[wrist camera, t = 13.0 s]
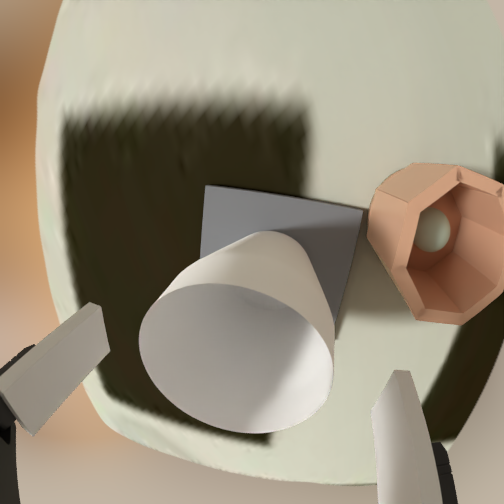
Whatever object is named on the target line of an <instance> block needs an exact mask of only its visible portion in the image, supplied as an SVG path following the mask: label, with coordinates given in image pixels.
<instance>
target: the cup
mask: <svg viewBox="0 0 504 504" xmlns="http://www.w3.org/2000/svg"><path fill="white" fill-rule="evenodd" d="M334 343H335V328H334V322H333V318H332V314H331V311H330V308H329V305H328V303H327V300H326V298H325V295H324V293H323V290H322V288H321V285H320V283H319V281H318V278H317V276H316V273H315V271H314V269H313V266H312V264H311V262H310V260H309V257H308V255H307V253H306V252H305V250H304V249H303V247H302V246H301V245H300V244H299V243H298V242H297V241H296V240H294V239H293V238H291V237H289V236H287V235H285V234H283V233H279V232H275V231H261V232H256V233H253V234H250V235H248V236H246V237H244V238H242V239H240V240H238V241H236V242H234V243H232V244H230V245H228V246H226V247H224V248H222V249H220V250H218V251H216V252H214V253H212V254H210V255H208V256H206V257H204V258H202V259H200V260H198V261H196V262H195V263H193V264H192V265H190V266H189V267H187V268H186V269H185V270H183V271H182V272H181V273H180V274H179V275H178V276H177V277H176V278H175V279H174V281H173V282H172V283H171V284H170V286H169V287H168V288H167V289H166V290H165V291H164V293H163V294H162V295H161V296H160V297H159V298H158V300H157V301H156V302H155V303H154V304H153V305H152V306H151V308H150V309H149V310H148V312H147V313H146V315H145V317H144V319H143V321H142V324H141V327H140V333H139V348H140V354H141V358H142V361H143V364H144V366H145V368H146V370H147V372H148V374H149V376H150V378H151V379H152V381H153V382H154V384H155V385H156V386H157V388H158V389H159V390H160V391H161V392H162V393H163V394H164V396H165V397H166V398H167V399H169V400H170V401H171V402H172V403H173V404H174V405H176V406H177V407H178V408H180V409H181V410H182V411H184V412H185V413H187V414H189V415H190V416H192V417H194V418H196V419H198V420H200V421H202V422H204V423H207V424H209V425H212V426H215V427H218V428H221V429H225V430H230V431H235V432H243V433H267V432H274V431H279V430H283V429H287V428H290V427H292V426H295V425H297V424H299V423H301V422H303V421H305V420H306V419H308V418H309V417H311V416H312V415H313V414H314V413H315V412H317V411H318V409H319V408H320V407H321V406H322V405H323V404H324V402H325V401H326V399H327V397H328V395H329V393H330V390H331V388H332V383H333V375H334Z"/></svg>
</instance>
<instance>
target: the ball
mask: <svg viewBox="0 0 504 504" xmlns="http://www.w3.org/2000/svg"><path fill="white" fill-rule="evenodd" d="M449 237H450V224H449V221H448V219H447V217H446V216H445V214H444V213H443V212H442V211H440V210H438V209H436V208H433V207H427V208H425V209H424V210H423V211H421V212H420V215H419V220H418V224H417V229H416V233H415V237H414V241H413V242H414V244H415V245H416V246H417V247H418V248H419V249H421V250H423V251H426V252H436V251H438V250H440V249H442V248H443V247H444V246H445V245H446V243H447V242H448V240H449Z"/></svg>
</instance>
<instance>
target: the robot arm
mask: <svg viewBox="0 0 504 504" xmlns="http://www.w3.org/2000/svg"><path fill="white" fill-rule="evenodd" d="M109 352H110V348H109V344H108V340H107V335H106V330H105V325H104V320H103V315H102V309H101V306H98V305H95V304H93V303H90V302H89V303H88V304H87V305H85V306H84V307H83V308H81V309H80V310H79V311H78V312H76V313H75V314H74V315H73V316H71V317H70V318H69V319H67V320H66V321H65V322H64V323H62V324H61V325H60V326H59V327H57V328H56V329H55V330H54V331H53V332H51V333H50V334H49V335H48V336H46V337H45V338H44V339H43V340H42V341H40V342H39V343H38V344H37V345H35V344H33V345H31V346H29V347H26V348H24V349H23V350H22V351H21V352H20V353H18V354H17V356H15V357H14V358H13V359H11V361H9V362H8V363H7V364H6V365H4V366H3V367H2V368H1V369H0V504H20V498H19V490H18V480H17V468H16V425H15V423H14V421H15V420H16V419H17V421H18V422H19V424H20V425H21V426H22V427H23V428H24V429H25V430H26V431H27V432H28V433H29V434H31V435H32V436H34V435H35V434H36V433H37V432H38V431H39V430H40V428H41V427H42V426H43V425H44V424H45V423H46V421H47V420H48V419H49V418H50V417H51V416H52V415H53V413H54V412H55V411H56V410H57V409H58V408H59V407H60V405H61V404H62V403H63V402H64V401H65V400H66V399H67V398H68V396H69V395H70V394H71V393H72V392H73V391H74V390H75V388H76V387H77V386H78V385H79V384H80V383H81V382H82V381H83V380H84V379H85V378H86V376H87V375H88V374H89V373H90V372H91V371H92V370H93V369H94V368H95V367H96V366H97V364H98V363H99V362H100V361H101V360H102V359H103V358H104V357H105V356H106V355H107V354H108V353H109ZM371 419H372V427H373V436H374V446H375V457H376V470H377V486H378V504H458V501H457V495H456V490H455V485H454V480H453V475H452V474H451V472H452V471H451V466H450V465H449V463H450V462H449V458H448V454H447V451H446V450H445V448H444V447H443V445H442V444H441V442H436V443H431V441H430V437H429V433H428V429H427V425H426V422H425V418H424V415H423V411H422V408H421V404H420V401H419V398H418V394H417V391H416V388H415V385H414V382H413V379H412V376H411V373H410V371H404V370H394V372H393V374H392V375H391V377H390V379H389V381H388V383H387V384H386V386H385V388H384V390H383V391H382V393H381V395H380V396H379V398H378V400H377V401H376V403H375V405H374V406H373V408H372V409H371Z"/></svg>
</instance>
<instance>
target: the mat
mask: <svg viewBox="0 0 504 504" xmlns="http://www.w3.org/2000/svg"><path fill="white" fill-rule="evenodd" d="M362 214H363V210H362V209H358V208H353V207H348V206H343V205H338V204H332V203H327V202H322V201H316V200H310V199H305V198H299V197H293V196H287V195H280V194H274V193H267V192H261V191H254V190H246V189H239V188H231V187H224V186H215V185H206V187H205V199H204V211H203V224H202V238H201V254H200V259H202V258H204V257H206V256H208V255H210V254H212V253H214V252H216V251H218V250H220V249H222V248H224V247H226V246H228V245H230V244H232V243H234V242H236V241H238V240H240V239H242V238H244V237H246V236H248V235H250V234H253V233H256V232H261V231H275V232H279V233H283V234H285V235H287V236H289V237H291V238H293V239H294V240H296V241H297V242H298V243H299V244H300V245H301V246H302V247H303V249H304V250H305V252H306V253H307V255H308V257H309V260H310V262H311V264H312V266H313V269H314V271H315V273H316V276H317V278H318V281H319V283H320V285H321V288H322V290H323V293H324V295H325V298H326V300H327V303H328V305H329V308H330V311H331V314H332V318H333V322H334V325H335V321H336V318H337V315H338V311H339V308H340V305H341V301H342V298H343V294H344V290H345V287H346V283H347V279H348V275H349V271H350V268H351V264H352V259H353V255H354V251H355V247H356V242H357V238H358V233H359V229H360V224H361V219H362Z"/></svg>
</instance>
